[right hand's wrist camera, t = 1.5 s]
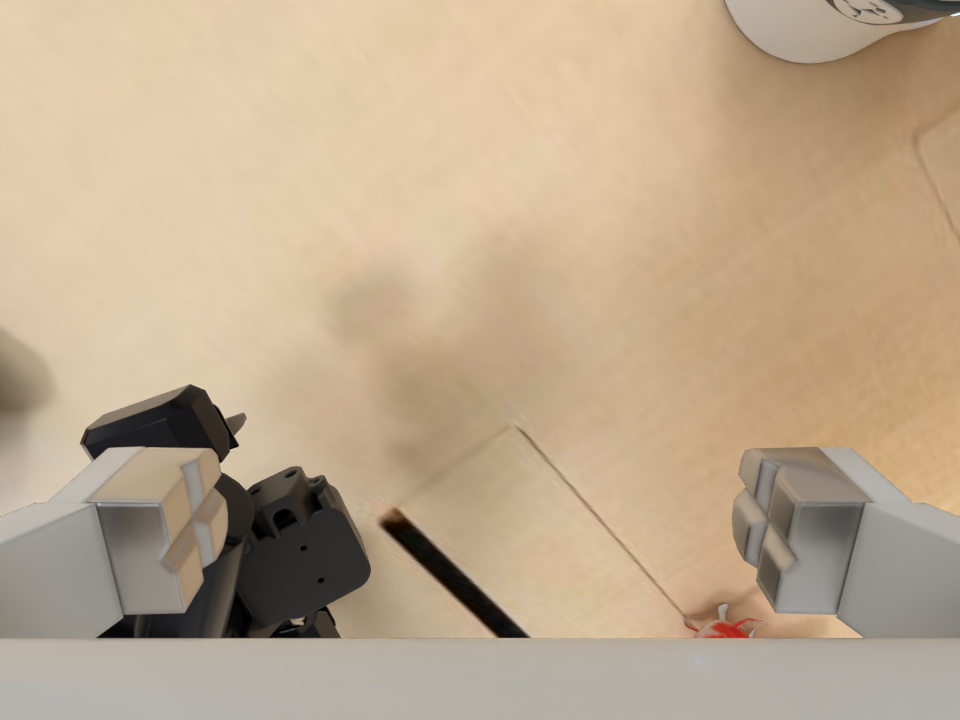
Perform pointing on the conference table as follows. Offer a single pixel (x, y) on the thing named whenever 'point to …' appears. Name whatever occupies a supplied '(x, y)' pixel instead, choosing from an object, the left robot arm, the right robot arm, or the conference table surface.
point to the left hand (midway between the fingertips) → (270, 475)
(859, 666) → the right robot arm
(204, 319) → the conference table surface
